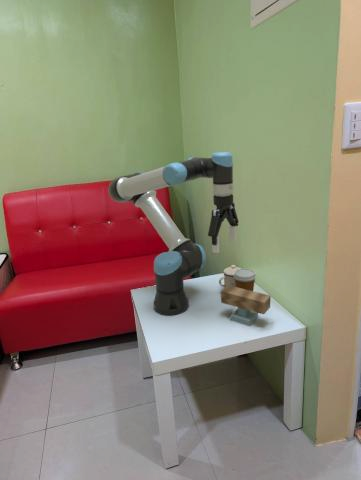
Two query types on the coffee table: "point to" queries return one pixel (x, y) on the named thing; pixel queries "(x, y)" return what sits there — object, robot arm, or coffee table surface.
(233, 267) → the teacup with lid
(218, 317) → the coffee table surface
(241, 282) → the disposable coffee cup
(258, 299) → the batten
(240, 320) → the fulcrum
